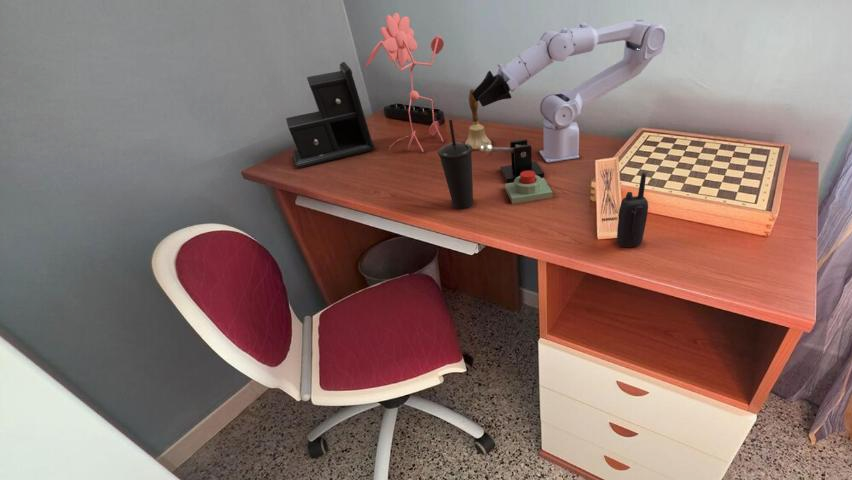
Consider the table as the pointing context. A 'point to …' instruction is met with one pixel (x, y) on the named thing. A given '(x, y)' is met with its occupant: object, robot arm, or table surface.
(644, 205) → the two-way radio
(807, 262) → the table surface
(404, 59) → the figurine
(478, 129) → the hand bell
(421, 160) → the table surface
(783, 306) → the table surface
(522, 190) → the button box
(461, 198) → the drinking cup
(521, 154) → the black lever mount
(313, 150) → the black drawer organizer
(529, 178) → the button
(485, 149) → the tap lever
